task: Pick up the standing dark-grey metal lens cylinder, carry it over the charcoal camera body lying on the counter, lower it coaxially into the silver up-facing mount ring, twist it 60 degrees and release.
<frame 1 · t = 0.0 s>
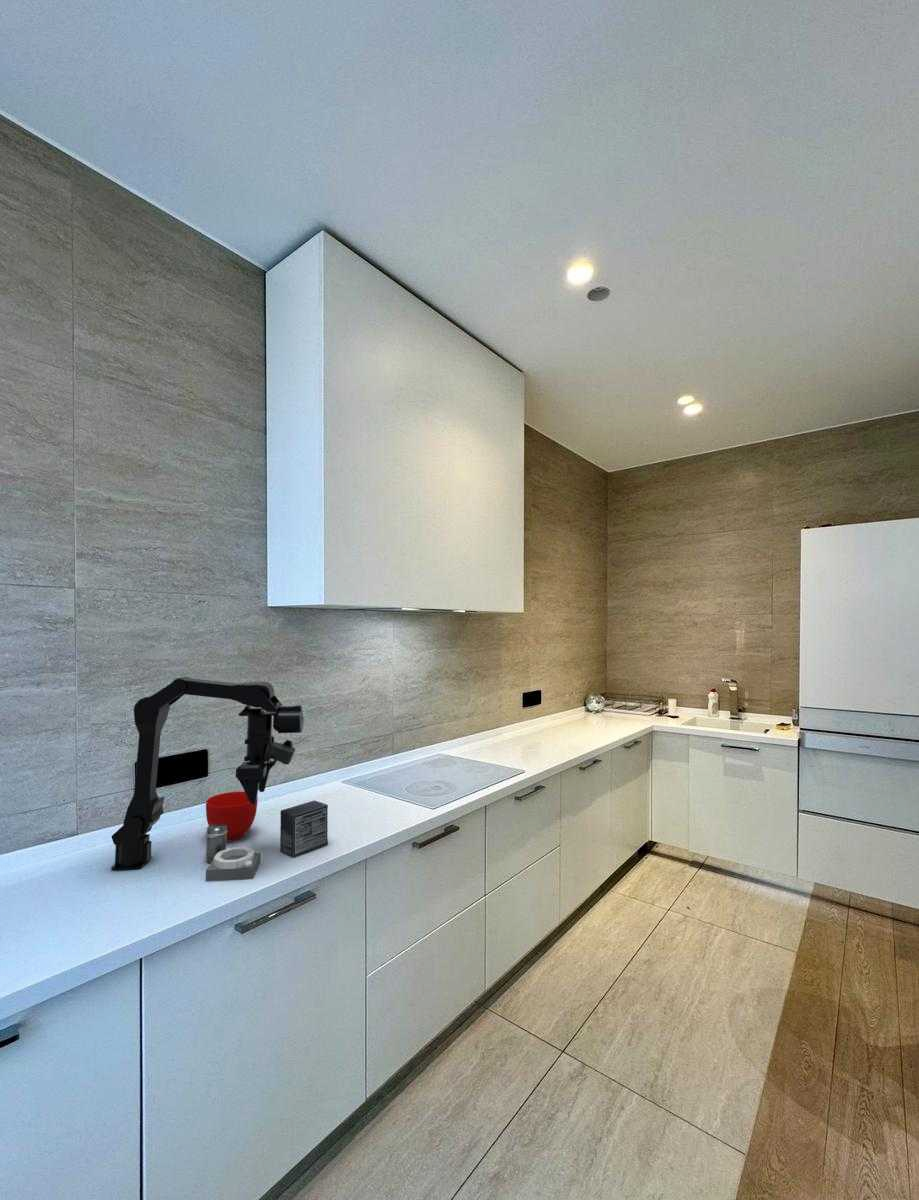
hand: (257, 797, 133), 15 cm above the worktop, fingers open, 9 cm apart
small box: (303, 849, 139), on the worktop
lens: (216, 860, 131), on the worktop
ceramic cup: (235, 834, 148), on the worktop
camera body mount: (233, 872, 125), on the worktop
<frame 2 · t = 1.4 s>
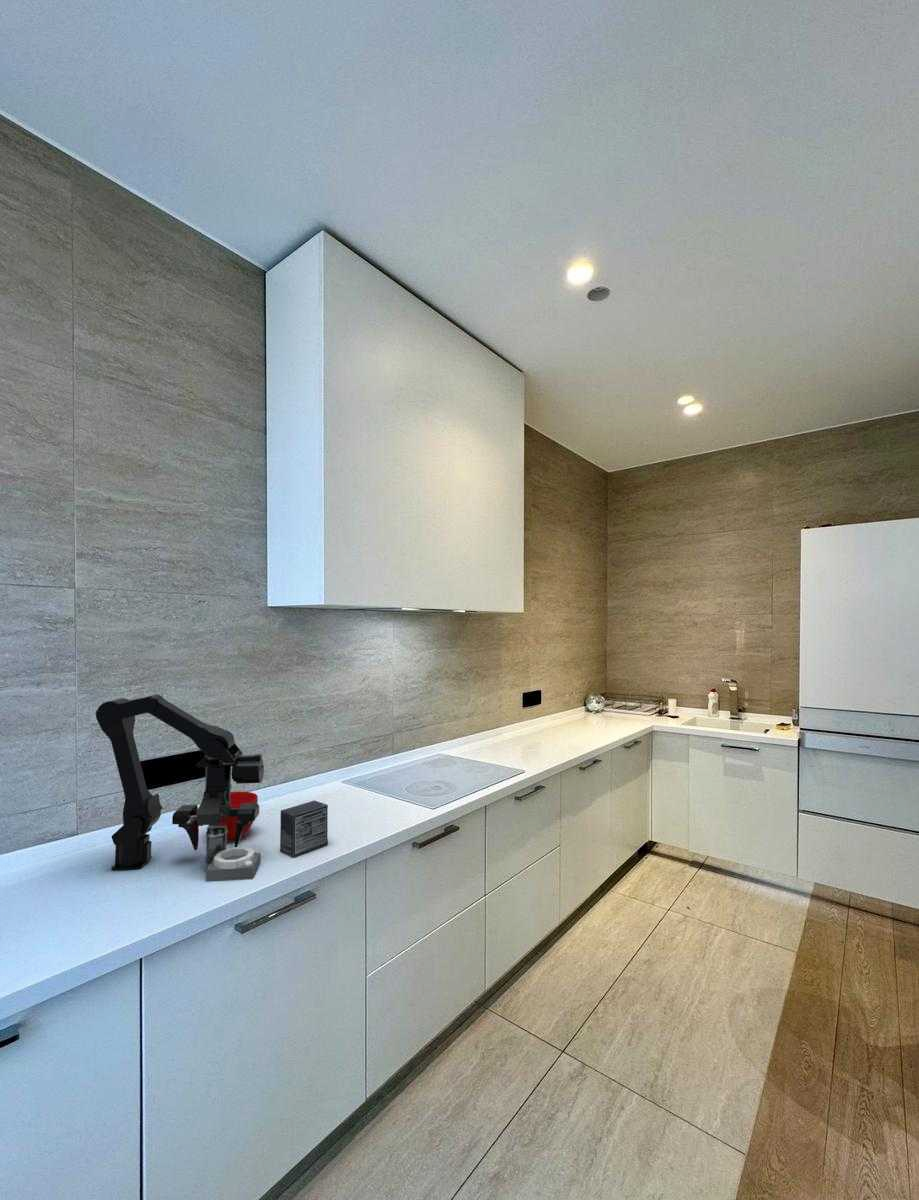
hand: (216, 849, 131), 3 cm above the worktop, fingers open, 9 cm apart
nothing on the worktop moved.
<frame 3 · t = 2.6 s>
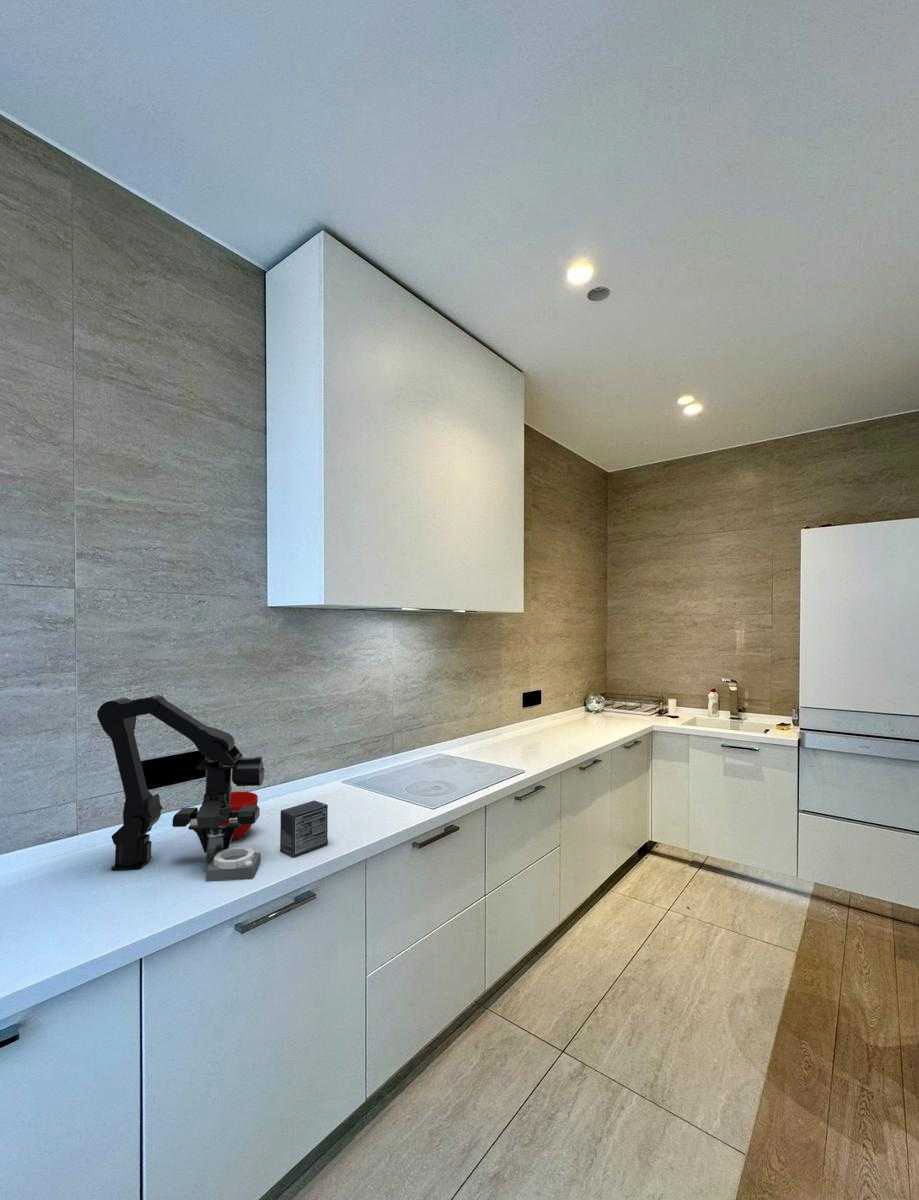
hand: (216, 851, 131), 2 cm above the worktop, fingers closed on lens, 4 cm apart
lens: (216, 860, 131), on the worktop, touching gripper
everything else where it was.
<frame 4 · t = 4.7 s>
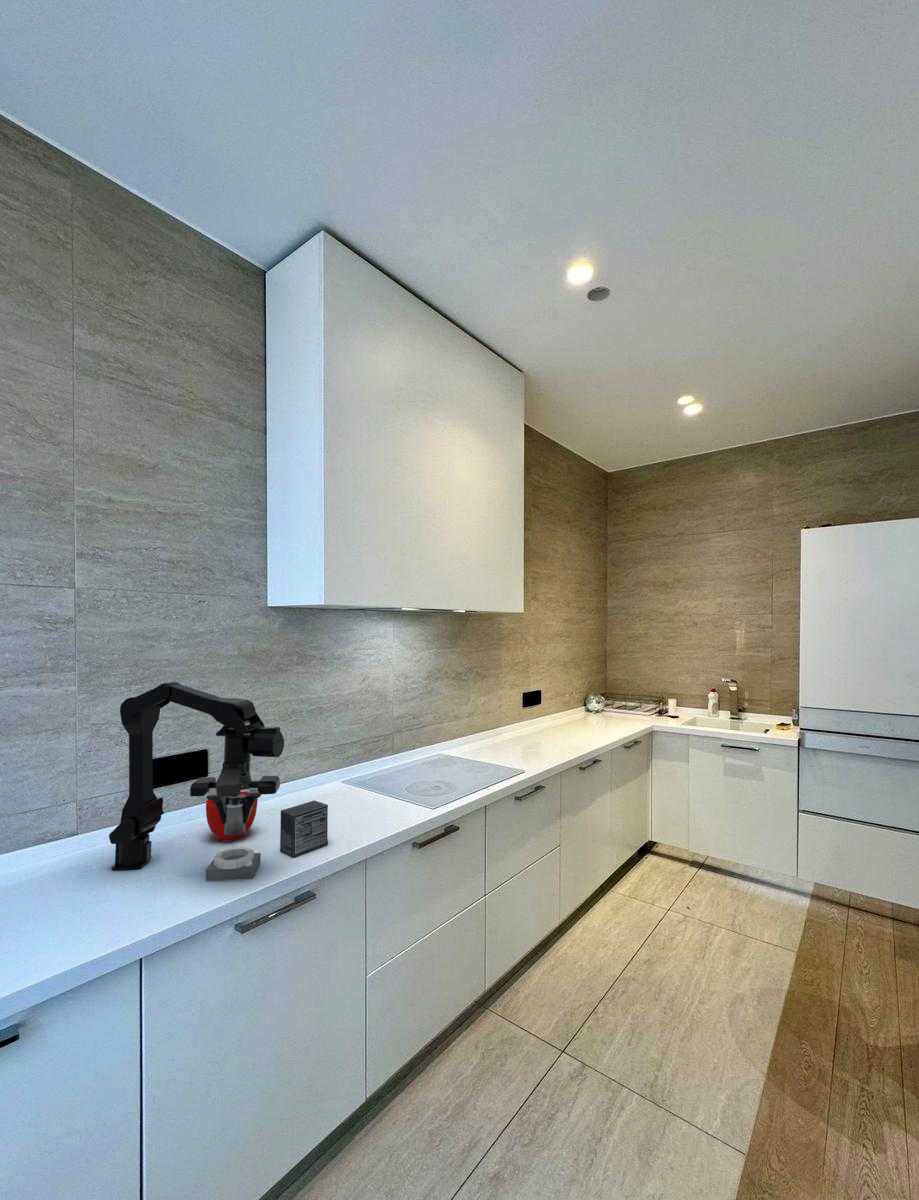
hand: (235, 823, 126), 11 cm above the worktop, fingers closed on lens, 4 cm apart
lens: (234, 832, 126), point 9 cm above the worktop, touching gripper
everything else where it was.
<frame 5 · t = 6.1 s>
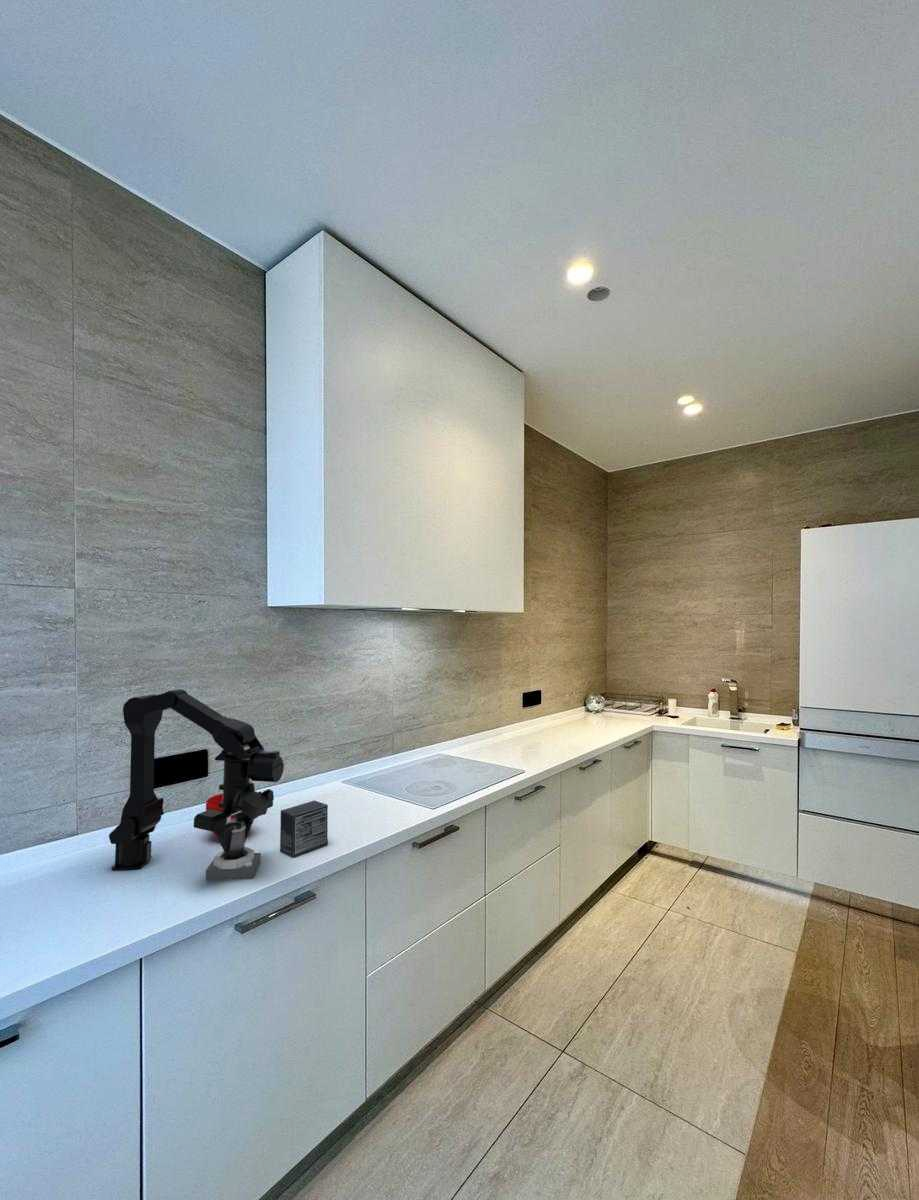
hand: (234, 847, 125), 5 cm above the worktop, fingers closed on lens, 4 cm apart
lens: (234, 856, 125), point 3 cm above the worktop, touching gripper
everything else where it was.
when the fingers open (5 cm above the worktop, at t = 6.9 s): lens stays where it is, resting on camera body mount.
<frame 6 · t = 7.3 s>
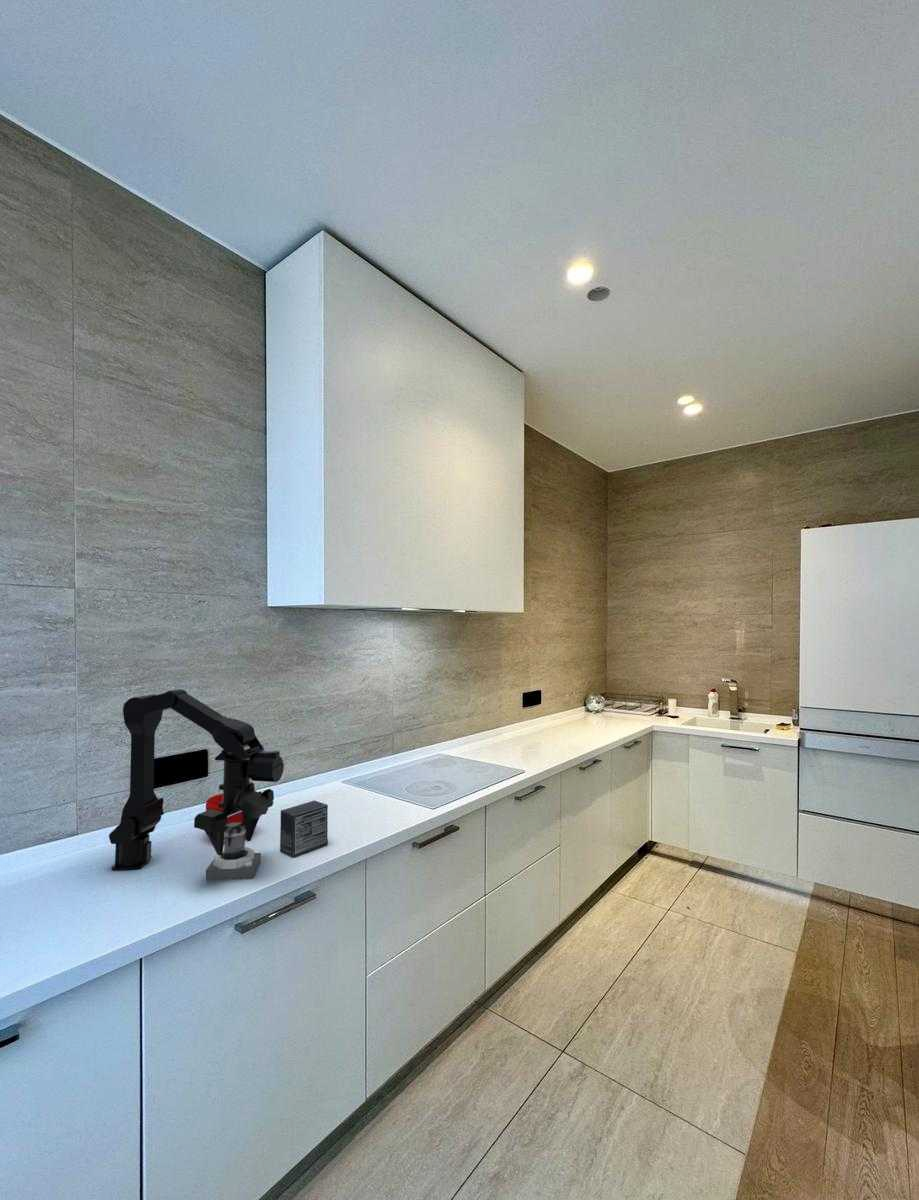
hand: (234, 847, 125), 5 cm above the worktop, fingers open, 8 cm apart
lens: (234, 860, 125), point 3 cm above the worktop, touching camera body mount
everything else where it was.
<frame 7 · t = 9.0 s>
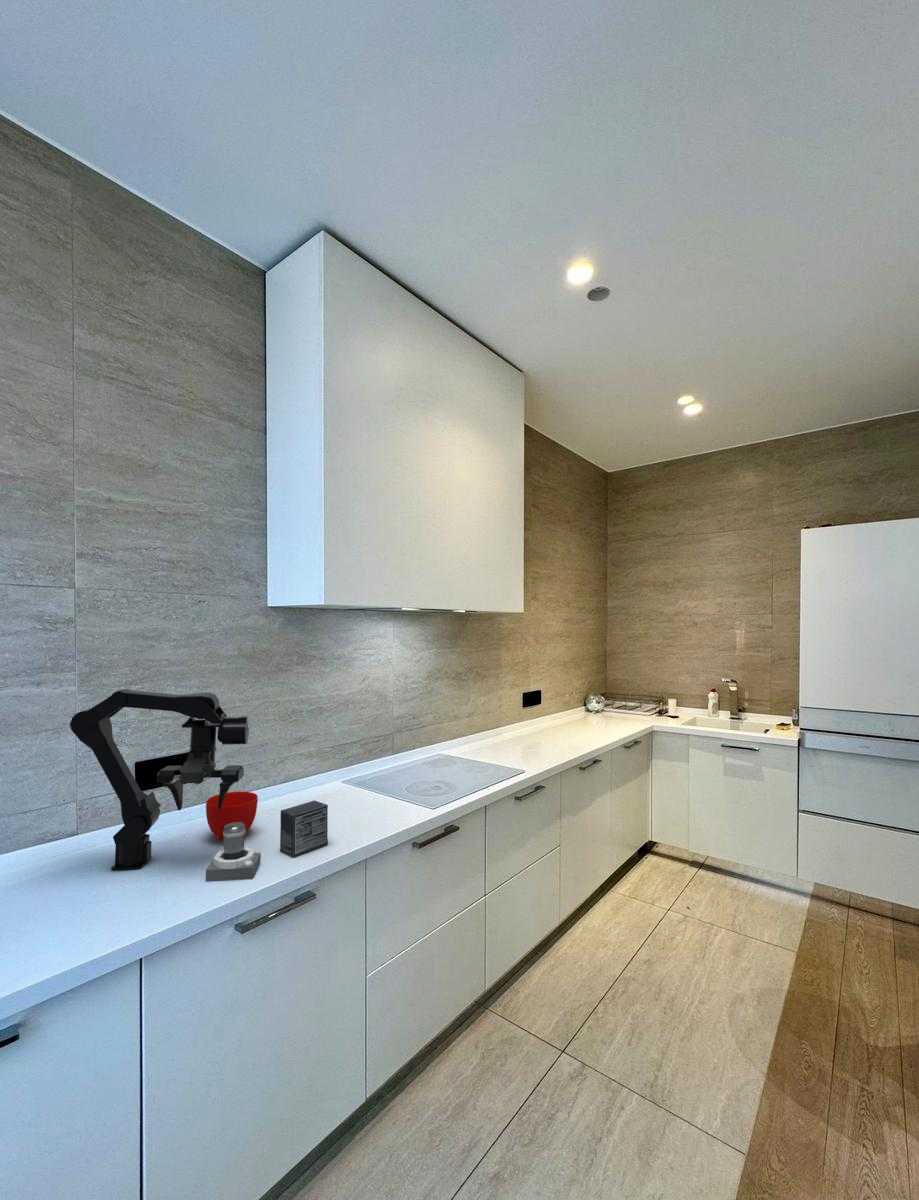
hand: (199, 809, 132), 12 cm above the worktop, fingers open, 9 cm apart
nothing on the worktop moved.
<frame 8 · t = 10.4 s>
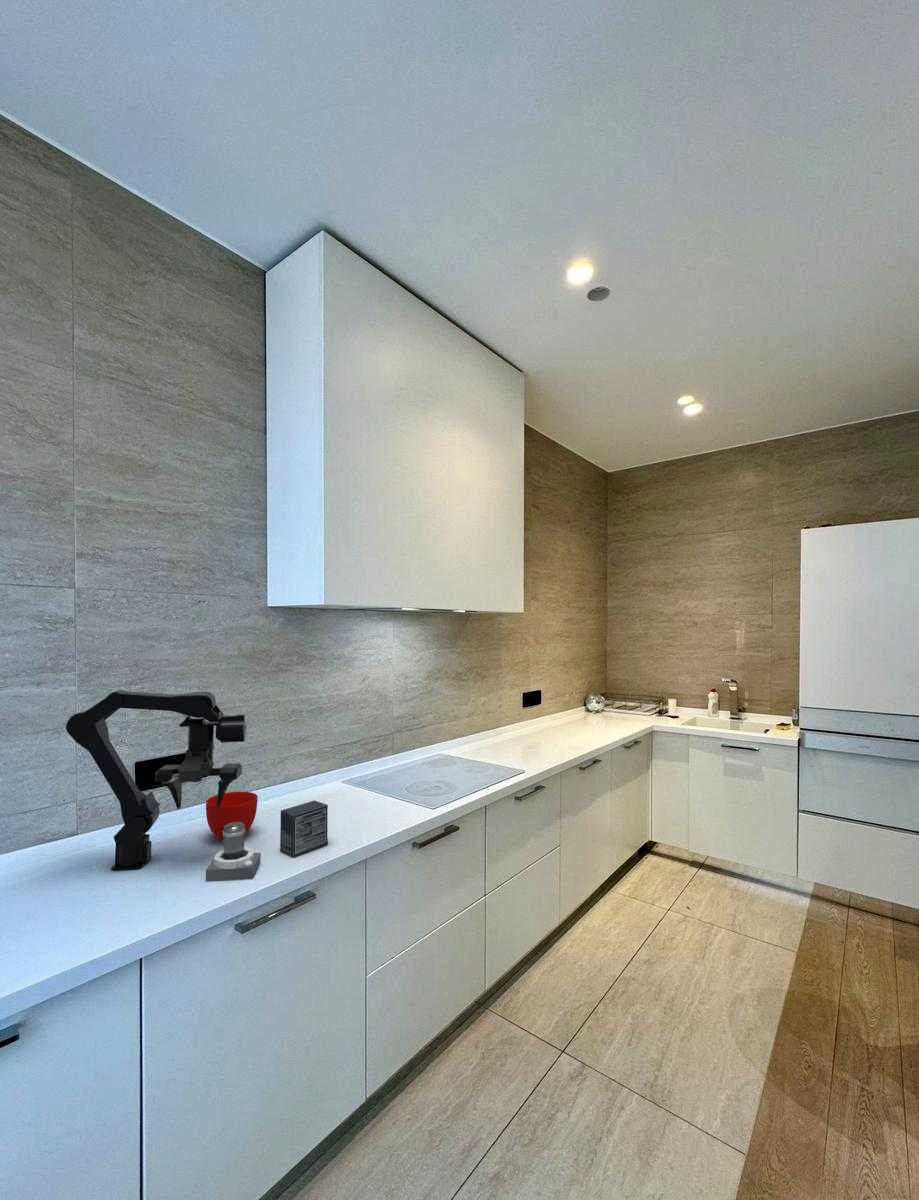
hand: (198, 807, 133), 12 cm above the worktop, fingers open, 9 cm apart
nothing on the worktop moved.
at the end: lens 0.1 cm off-centre on the camera body mount, point 2.6 cm above the camera body mount's base; lens tilted 1°; the gripper is holding nothing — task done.
